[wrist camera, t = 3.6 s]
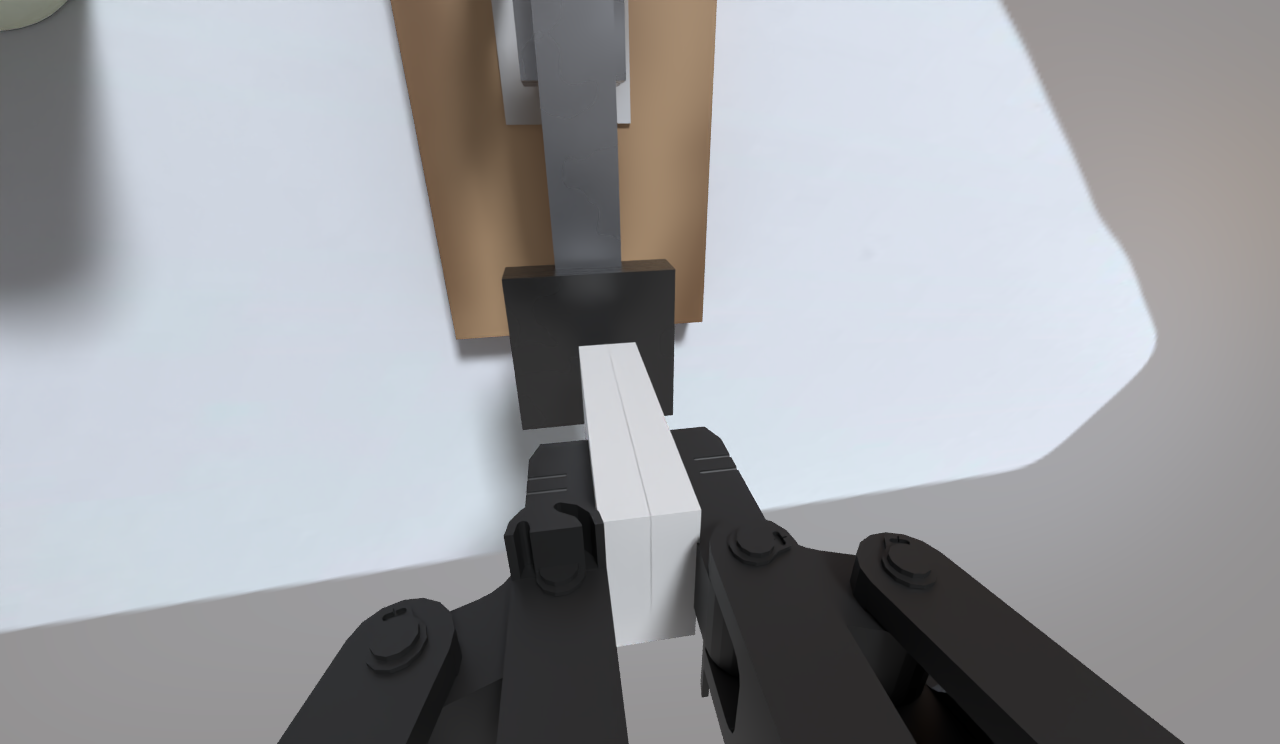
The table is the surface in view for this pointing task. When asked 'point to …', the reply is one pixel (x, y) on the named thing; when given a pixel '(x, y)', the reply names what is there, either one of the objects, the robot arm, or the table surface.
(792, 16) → the table surface
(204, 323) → the table surface
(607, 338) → the lever
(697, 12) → the base
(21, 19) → the can
